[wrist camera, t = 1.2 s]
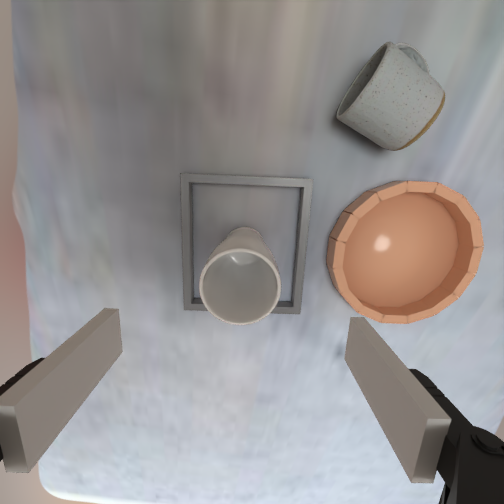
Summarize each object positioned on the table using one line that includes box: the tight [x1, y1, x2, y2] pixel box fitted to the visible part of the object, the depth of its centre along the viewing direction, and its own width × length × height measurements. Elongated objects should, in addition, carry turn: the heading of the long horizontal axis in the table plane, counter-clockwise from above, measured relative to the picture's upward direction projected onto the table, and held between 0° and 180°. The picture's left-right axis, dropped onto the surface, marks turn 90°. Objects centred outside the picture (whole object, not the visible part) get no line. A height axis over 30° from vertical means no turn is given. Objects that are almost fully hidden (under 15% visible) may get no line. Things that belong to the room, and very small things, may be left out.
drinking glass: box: [199, 227, 281, 325], centre depth 28 cm, size 7×7×15 cm
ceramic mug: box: [336, 42, 445, 151], centre depth 27 cm, size 11×8×8 cm
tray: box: [180, 173, 313, 314], centre depth 34 cm, size 18×16×2 cm
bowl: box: [326, 181, 484, 324], centre depth 34 cm, size 18×18×3 cm
